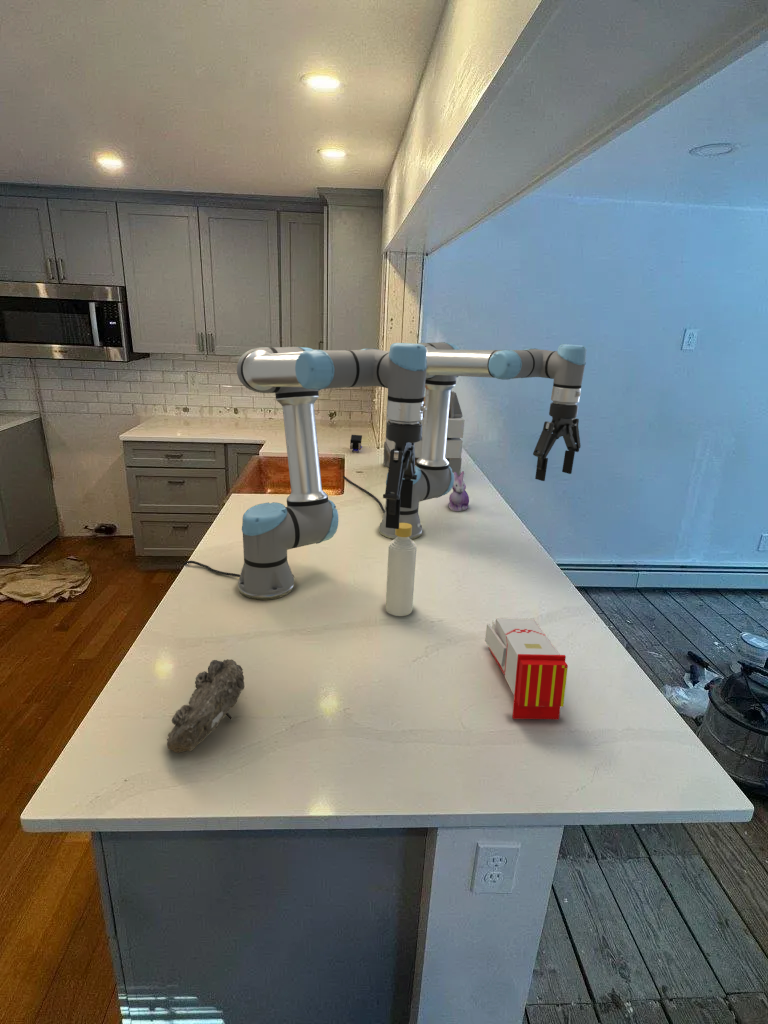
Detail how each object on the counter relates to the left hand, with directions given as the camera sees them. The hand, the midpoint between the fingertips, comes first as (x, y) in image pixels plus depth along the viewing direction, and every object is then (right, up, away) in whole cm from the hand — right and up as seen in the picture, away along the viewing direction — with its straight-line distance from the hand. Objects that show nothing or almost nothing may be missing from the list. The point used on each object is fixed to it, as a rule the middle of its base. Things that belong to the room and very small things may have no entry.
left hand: (399, 517), depth 125 cm
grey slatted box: (+14, +20, +150) cm, 152 cm away
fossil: (-36, -38, -17) cm, 55 cm away
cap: (+2, -2, +17) cm, 18 cm away
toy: (+26, -35, -1) cm, 44 cm away
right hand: (+46, +12, +40) cm, 62 cm away
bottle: (+1, -25, +25) cm, 35 cm away
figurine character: (-19, +35, +188) cm, 192 cm away
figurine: (+27, +3, +104) cm, 107 cm away
